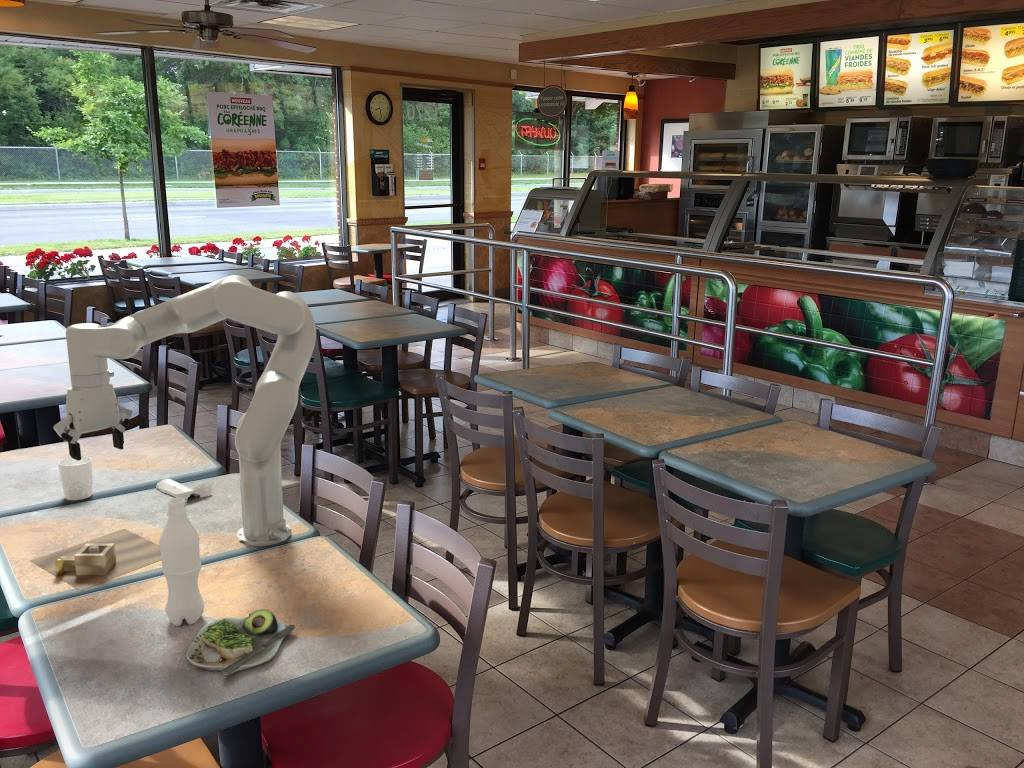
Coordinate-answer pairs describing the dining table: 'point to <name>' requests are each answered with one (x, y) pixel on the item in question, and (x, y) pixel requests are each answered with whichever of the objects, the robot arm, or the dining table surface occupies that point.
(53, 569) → the board
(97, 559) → the square frame with tab
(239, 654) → the avocado toast plate
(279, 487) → the robot arm
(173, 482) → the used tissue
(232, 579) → the dining table surface
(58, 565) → the dowel pin
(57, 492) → the dining table surface
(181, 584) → the water bottle
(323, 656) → the dining table surface
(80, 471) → the white cup
